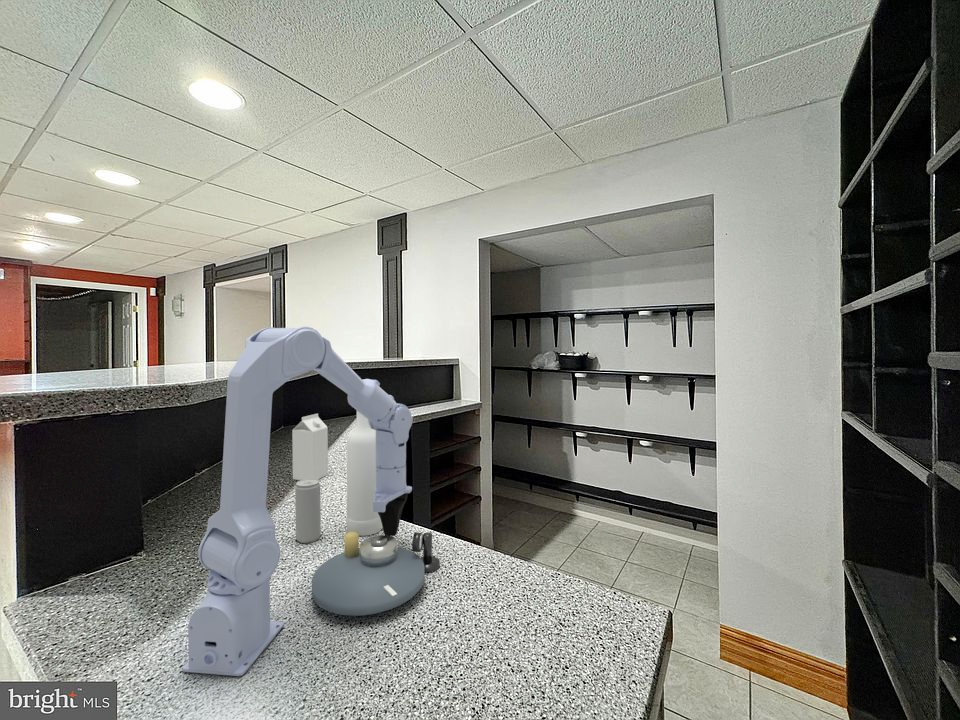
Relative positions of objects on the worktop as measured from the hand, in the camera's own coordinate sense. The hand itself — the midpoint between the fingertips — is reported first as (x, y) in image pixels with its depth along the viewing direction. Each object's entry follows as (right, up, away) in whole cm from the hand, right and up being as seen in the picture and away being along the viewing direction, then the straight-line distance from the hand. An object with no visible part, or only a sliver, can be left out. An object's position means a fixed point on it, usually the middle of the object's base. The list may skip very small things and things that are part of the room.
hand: (390, 534), depth 81 cm
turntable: (-1, -3, -11) cm, 12 cm away
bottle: (-8, -4, +11) cm, 14 cm away
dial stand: (+8, -4, -4) cm, 10 cm away
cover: (-1, -1, -7) cm, 7 cm away
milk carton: (-34, -2, +46) cm, 57 cm away
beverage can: (-19, -4, +6) cm, 20 cm away
